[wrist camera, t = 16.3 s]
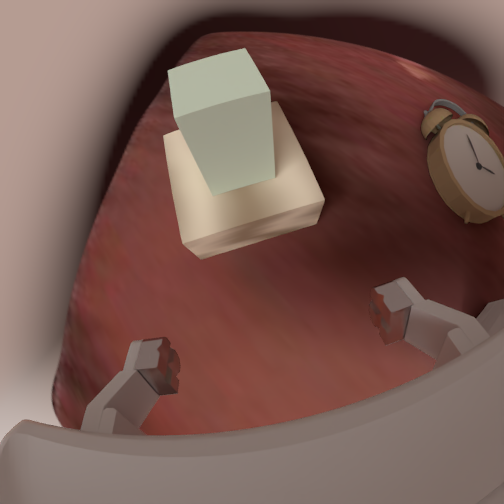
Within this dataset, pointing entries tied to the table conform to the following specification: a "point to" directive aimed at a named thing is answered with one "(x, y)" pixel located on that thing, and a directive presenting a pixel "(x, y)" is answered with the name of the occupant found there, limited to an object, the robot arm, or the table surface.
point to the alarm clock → (464, 163)
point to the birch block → (243, 197)
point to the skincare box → (492, 317)
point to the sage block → (225, 119)
